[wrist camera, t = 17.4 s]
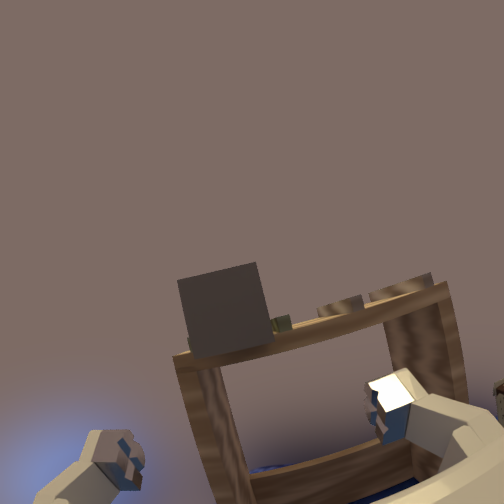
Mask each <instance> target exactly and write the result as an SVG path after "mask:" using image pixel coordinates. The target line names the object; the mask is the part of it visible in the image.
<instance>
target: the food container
mask: <svg viewBox="0 0 504 504" xmlns="http://www.w3.org/2000/svg"><path fill="white" fill-rule="evenodd" d="M493 396H495V397H496V405H497V415H498V422H499V423H500V424H501V425H502V427H503V428H504V379H502V380H500V381H497V382H495V383H494V387H493Z"/></svg>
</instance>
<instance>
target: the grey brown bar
mask: <svg viewBox="0 0 504 504" xmlns="http://www.w3.org/2000/svg"><path fill="white" fill-rule="evenodd" d="M177 283H178V288H179V292H180V297H181V302H182V307H183V311H184V316H185V321H186V325H187V330H188V334H189V339H190V343H191V347H192V351H193V356H194V360H195V359H200V358H205V357H210V356H215V355H220V354H224V353H229V352H233V351H238V350H242V349H247V348H251V347H255V346H259V345H264V344H268V343H272V342H275V338H274V334H273V330H272V326H271V322H270V318H269V313H268V310H267V306H266V302H265V297H264V294H263V290H262V286H261V282H260V277H259V273H258V269H257V265H256V262H253V263H249V264H244V265H240V266H236V267H232V268H228V269H223V270H219V271H215V272H211V273H206V274H202V275H198V276H194V277H189V278H185V279H180V280H177Z"/></svg>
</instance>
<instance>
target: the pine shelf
mask: <svg viewBox="0 0 504 504" xmlns="http://www.w3.org/2000/svg"><path fill="white" fill-rule="evenodd" d="M369 297H370V300H371V302H370V303H367V304H364V303H363V299H362V296H361V295H357V296H354V297H351V298H347V299H345V300H341V301H338V302H335V303H332V304H328V305H326V306H322V307H319V308H317V312H318V316H319V318H316V319H312V320H309V321H305V322H301V323H297V324H294V325H292V324H291V320H290V316H289V314H288V315H285V316H281V317H277V318H274V319H271V320H270V322H271V326H272V330H273V334H274V338H275V342H272V343H268V344H264V345H259V346H255V347H251V348H247V349H242V350H238V351H233V352H229V353H224V354H220V355H215V356H210V357H205V358H200V359H195V360H194V356H193V351H192V347H191V343H190V339H189V338H187V339H188V344H189V348H190V350H189V351H186V352H183V353H180V354H178V355H175V356H172V357H173V362H174V365H175V370H176V374H177V377H178V382H179V385H180V389H181V393H182V396H183V400H184V404H185V408H186V411H187V414H188V418H189V422H190V425H191V428H192V432H193V435H194V438H195V441H196V445H197V448H198V451H199V454H200V457H201V460H202V463H203V466H204V469H205V472H206V475H207V478H208V481H209V483H210V487H211V489H212V492H213V495H214V497H215V500H216V503H217V504H347V503H350V502H353V501H356V500H359V499H362V498H364V497H367V496H370V495H372V494H375V493H378V492H380V491H383V490H385V489H387V488H390V487H392V486H395V485H397V484H399V483H401V482H404V481H406V480H408V479H410V478H412V477H414V478H415V479H417V480H418V481H419V482H423V481H425V480H427V479H429V478H431V477H433V476H435V475H437V472H438V470H439V468H440V465H441V463H442V460H443V458H441V457H439V456H437V455H435V454H433V453H431V452H430V451H428V450H426V449H424V448H422V447H420V446H418V445H416V444H414V443H412V442H411V441H409V440H407V439H405V438H402V439H399V440H397V441H394V442H392V443H389V444H386V445H383V446H382V444H381V443H380V441H379V439H378V438H377V439H374V440H371V441H369V442H366V443H364V444H361V445H358V446H355V447H352V448H349V449H346V450H343V451H340V452H337V453H334V454H331V455H327V456H324V457H321V458H318V459H314V460H310V461H307V462H303V463H299V464H295V465H291V466H287V467H283V468H278V469H274V470H269V471H265V472H260V473H255V474H249V471H248V467H247V464H246V461H245V457H244V454H243V451H242V447H241V444H240V441H239V437H238V433H237V430H236V426H235V422H234V419H233V415H232V412H231V408H230V404H229V401H228V397H227V393H226V389H225V385H224V381H223V377H222V374H221V370H220V367H221V366H226V365H230V364H235V363H239V362H244V361H248V360H253V359H257V358H261V357H265V356H269V355H273V354H277V353H281V352H285V351H289V350H293V349H297V348H300V347H304V346H307V345H311V344H314V343H318V342H322V341H325V340H328V339H332V338H335V337H339V336H342V335H345V334H349V333H352V332H354V331H358V330H361V329H364V328H367V327H370V326H373V325H376V324H379V323H382V322H383V325H384V330H385V334H386V338H387V342H388V347H389V352H390V356H391V361H392V366H393V371H394V372H395V371H398V370H400V369H403V368H407V369H408V370H409V371H410V372H411V374H412V375H413V376H414V377H415V379H416V380H417V381H418V382H419V383H420V385H421V386H422V387H423V388H424V390H425V391H426V392H427V393H428V394H429V395H430V394H432V393H433V394H436V395H439V396H442V397H445V398H449V399H452V400H455V401H458V402H462V403H465V404H468V405H469V398H468V389H467V381H466V373H465V367H464V360H463V354H462V348H461V342H460V337H459V332H458V327H457V322H456V317H455V313H454V309H453V304H452V300H451V296H450V292H449V288H448V284H447V281H444V282H441V283H437V284H434V283H433V279H432V276H431V272H430V273H427V274H424V275H421V276H418V277H415V278H413V279H409V280H407V281H404V282H401V283H398V284H395V285H392V286H389V287H386V288H383V289H380V290H377V291H374V292H371V293H369Z"/></svg>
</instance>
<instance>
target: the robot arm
mask: <svg viewBox="0 0 504 504" xmlns="http://www.w3.org/2000/svg"><path fill="white" fill-rule="evenodd" d="M364 391H365V393H366V395H367V397H366V398H365V400H364V407H365V411H366V415H367V418H368V420H369V422H370V424H372V425H374V426H376V428H375V433H376V435H377V437H378V439H379V441H380V443H381V444H382V446H383V445H386V444H389V443H392V442H394V441H397V440H399V439H402V438H405V439H407V440H409V441H411V442H412V443H414V444H416V445H418V446H420V447H422V448H424V449H426V450H428V451H430V452H431V453H433V454H435V455H437V456H439V457H441V458H443V460H442V463H441V465H440V468H439V470H438V472H437V475H435V476H433V477H431V478H429V479H427V480H425V481H423V482H420V483H418V484H416V485H414V486H412V487H410V488H407V489H405V490H403V491H400V492H398V493H396V494H393V495H391V496H388V497H386V498H383V499H381V500H378V501H375V502H373V503H370V504H504V428H503V427H502V425H501V424H500V423H499V422H498V421H497V420H496V419H495V418H494V416H493V415H492V414H491V413H490V412H489V411H488V410H485V409H482V408H479V407H475V406H471V405H468V404H465V403H462V402H458V401H455V400H452V399H449V398H445V397H442V396H439V395H436V394H433V393H432V394H430V395H429V394H428V393H427V392H426V391H425V390H424V388H423V387H422V386H421V385H420V383H419V382H418V381H417V380H416V379H415V377H414V376H413V375H412V374H411V372H410V371H409V370H408V369H407V368H403V369H400V370H398V371H395V372H393V373H390V374H388V375H385V376H382V377H379V378H377V379H374V380H371V381H368V382H366V383H365V387H364ZM133 438H134V435H133V434H132V432H131V431H130V430H92V431H90V433H89V435H88V437H87V440H86V443H85V445H84V448H83V451H82V453H81V456H80V459H79V462H74V463H73V464H72V465H70V467H68V468H67V469H66V470H64V471H63V472H62V473H61V474H60V475H59V476H57V477H56V478H55V479H54V480H53V481H52V482H50V483H49V484H48V485H46V486H45V487H44V488H43V489H42V490H40V491H39V492H38V493H37V494H36V497H35V499H34V502H33V504H111V502H112V501H113V500H114V499H115V497H116V496H117V495H118V494H119V492H120V491H140V490H141V484H142V477H143V476H142V475H141V474H140V471H141V470H142V469H143V468H144V465H145V455H144V452H143V449H142V447H141V446H140V444H139V443H137V442H135V441H134V440H133Z"/></svg>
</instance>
